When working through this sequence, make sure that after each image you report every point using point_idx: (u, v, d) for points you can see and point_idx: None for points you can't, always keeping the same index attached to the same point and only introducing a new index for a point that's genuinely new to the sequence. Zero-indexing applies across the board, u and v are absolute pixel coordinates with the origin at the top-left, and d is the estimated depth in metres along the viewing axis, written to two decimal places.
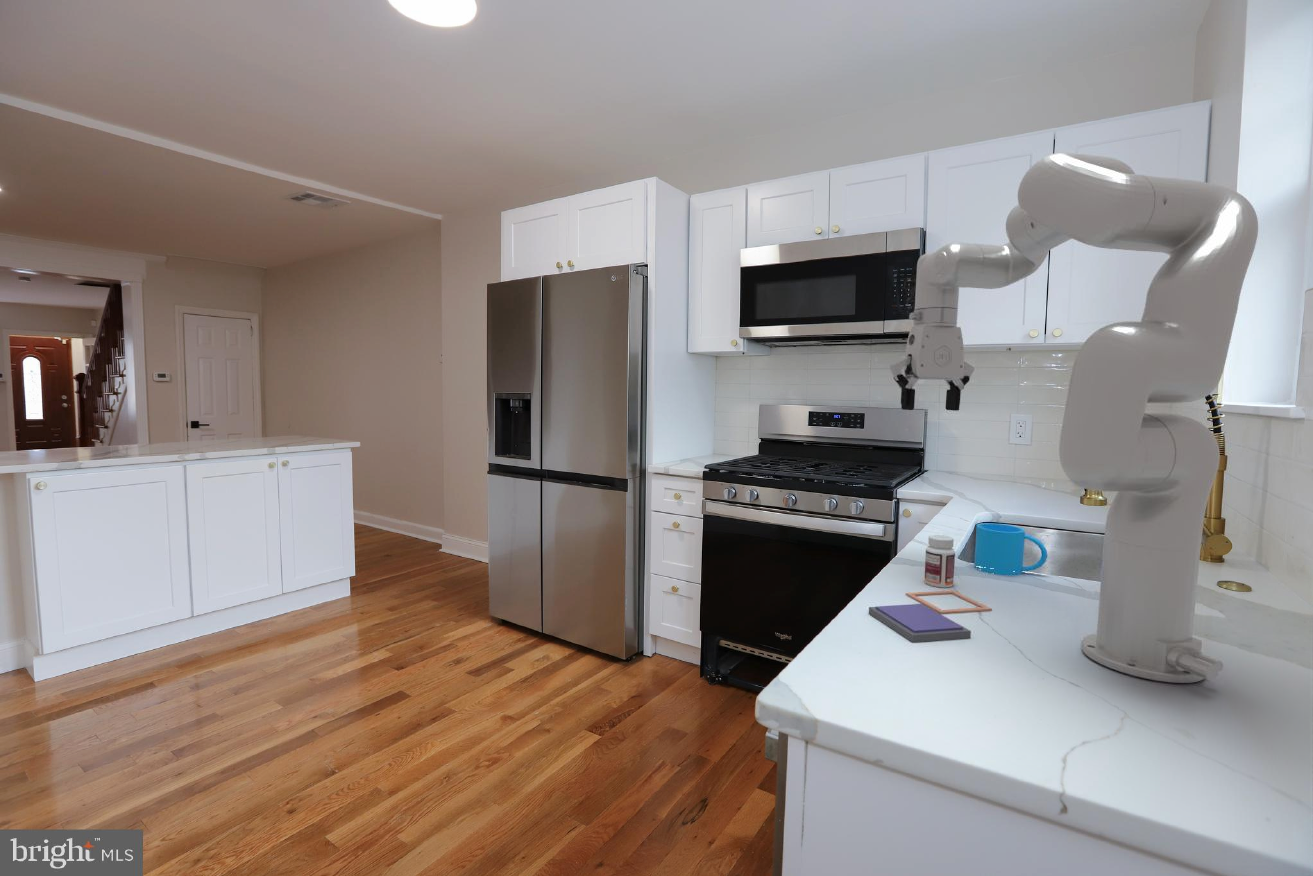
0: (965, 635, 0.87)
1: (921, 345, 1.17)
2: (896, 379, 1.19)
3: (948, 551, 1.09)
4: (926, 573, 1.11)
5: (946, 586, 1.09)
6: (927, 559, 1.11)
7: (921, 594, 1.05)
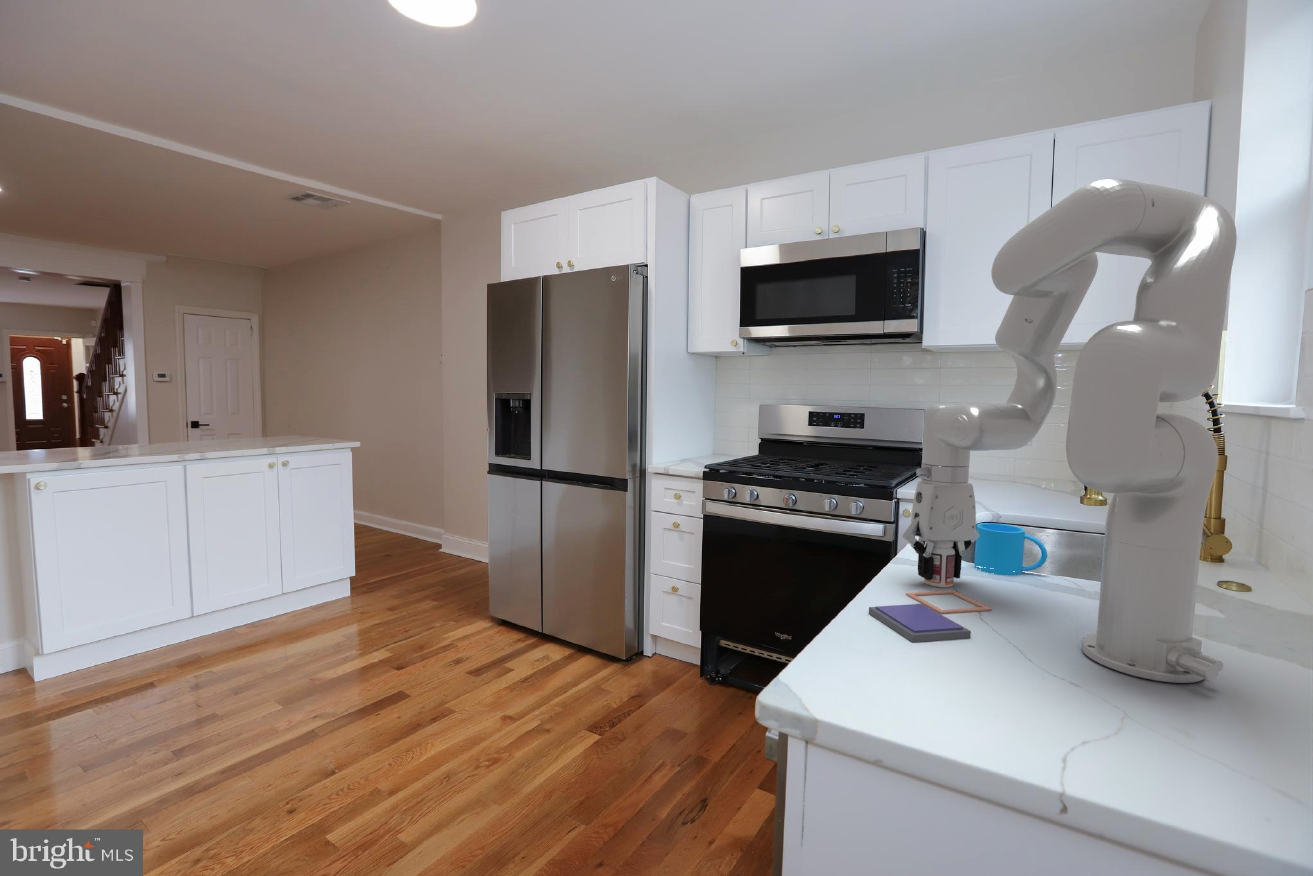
0: (965, 635, 0.87)
1: (930, 507, 1.07)
2: (913, 546, 1.10)
3: (948, 551, 1.09)
4: None
5: (946, 586, 1.09)
6: None
7: (921, 594, 1.05)
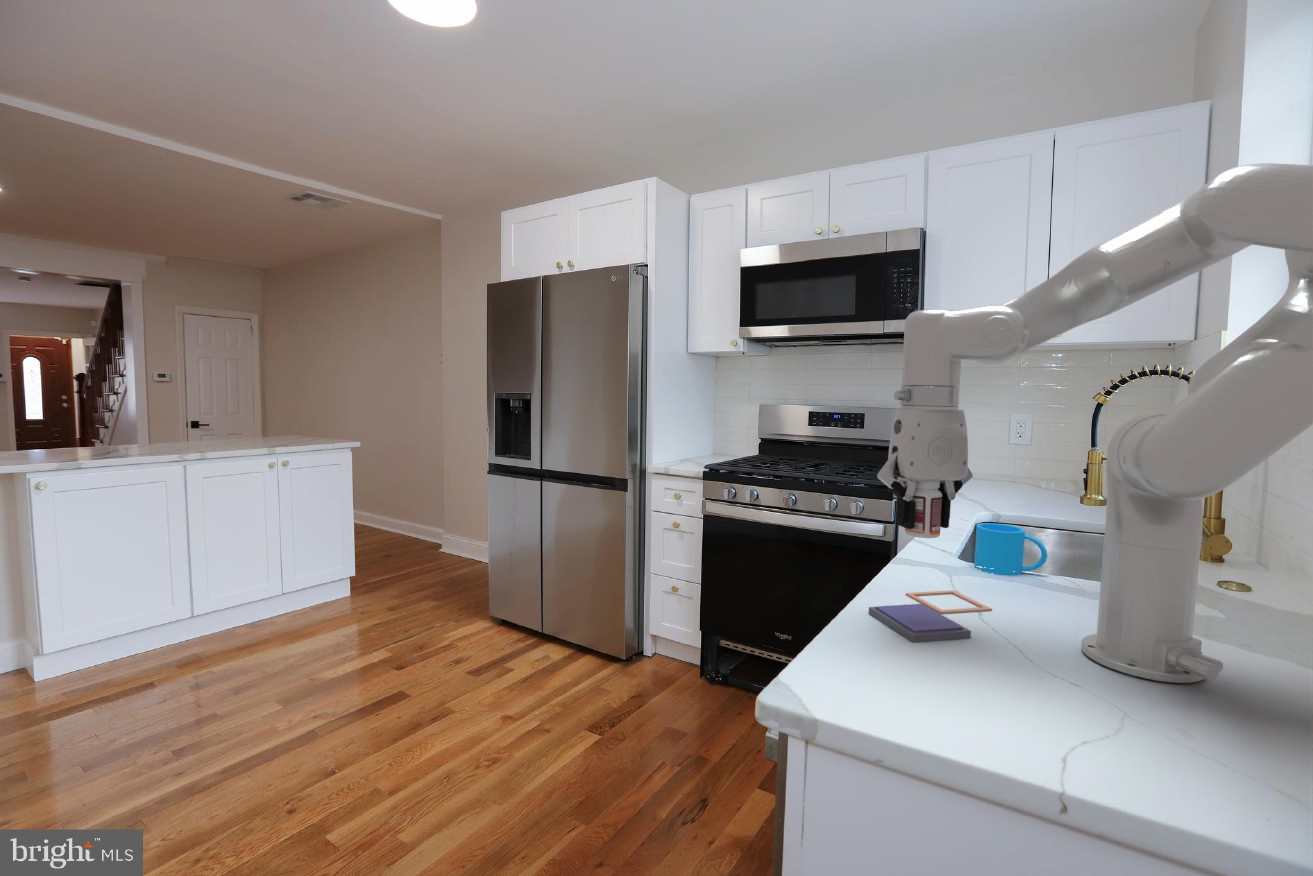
0: (965, 635, 0.87)
1: (911, 437, 0.86)
2: (890, 487, 0.89)
3: (933, 493, 0.88)
4: None
5: (931, 536, 0.88)
6: None
7: (921, 594, 1.05)
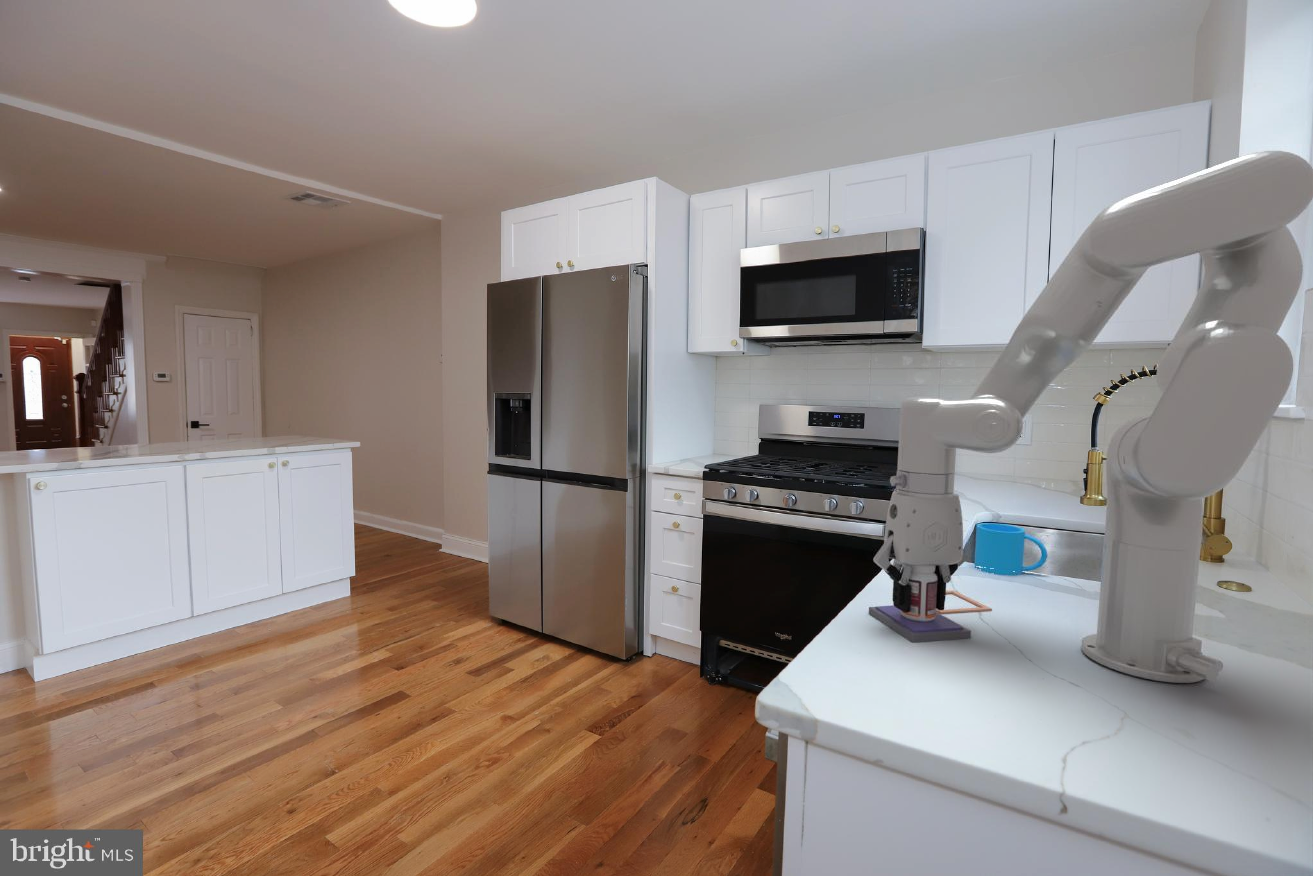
0: (965, 635, 0.87)
1: (906, 524, 0.87)
2: (886, 571, 0.90)
3: (928, 577, 0.89)
4: None
5: (926, 620, 0.89)
6: None
7: None
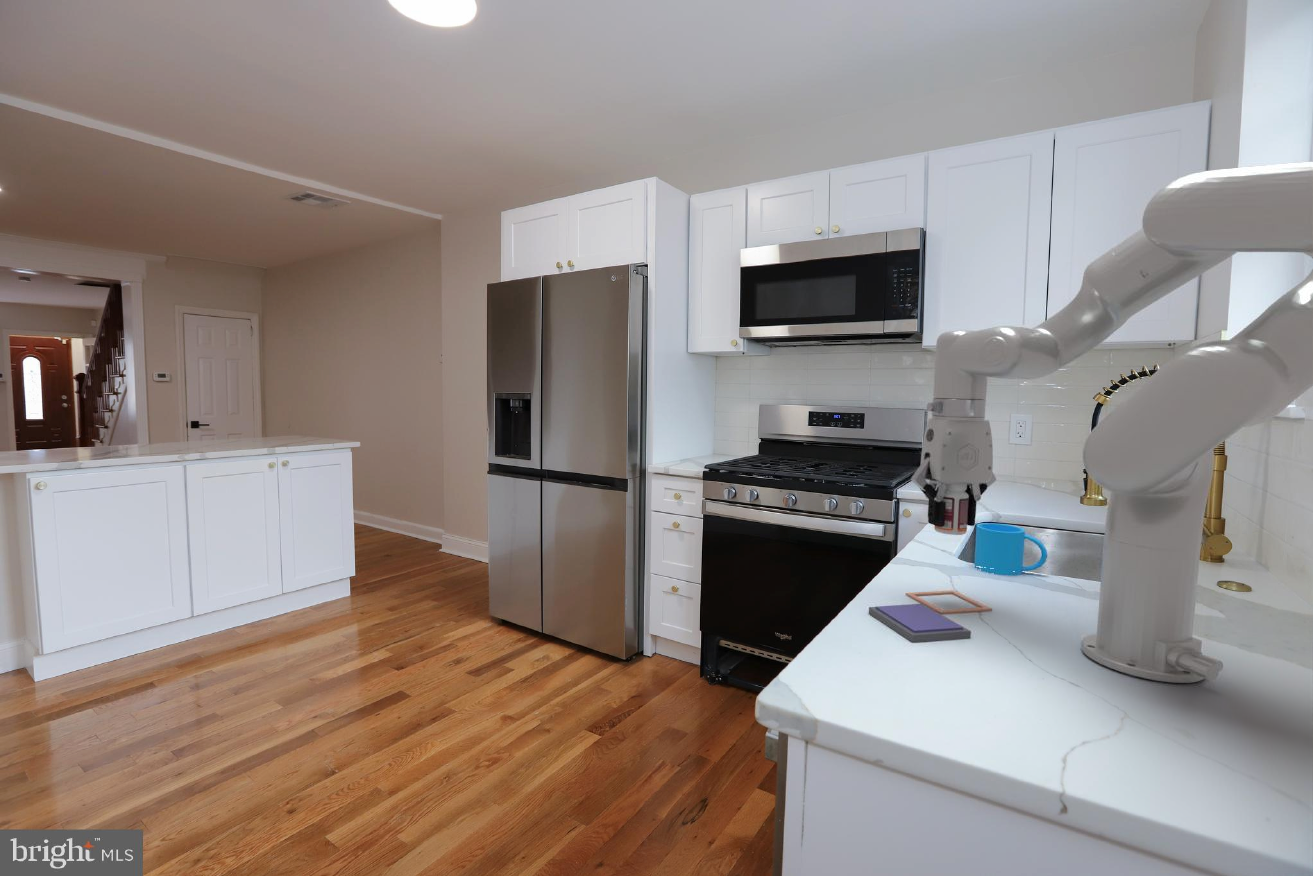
0: (965, 635, 0.87)
1: (942, 444, 0.96)
2: (923, 489, 0.99)
3: (961, 494, 0.98)
4: None
5: (959, 533, 0.99)
6: None
7: (921, 594, 1.05)
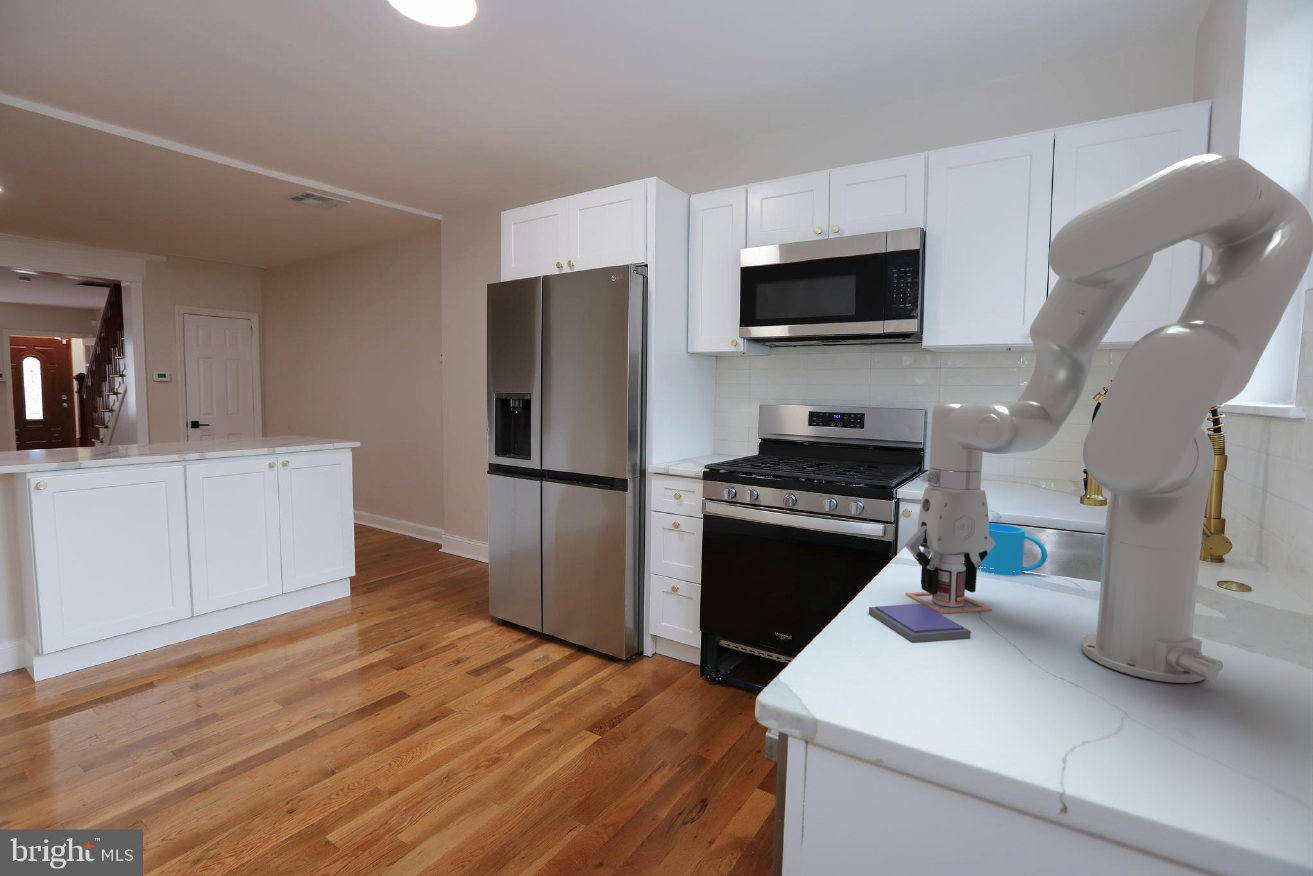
0: (965, 635, 0.87)
1: (938, 516, 0.97)
2: (915, 557, 1.00)
3: (958, 567, 0.99)
4: None
5: (956, 605, 0.99)
6: None
7: (921, 594, 1.05)
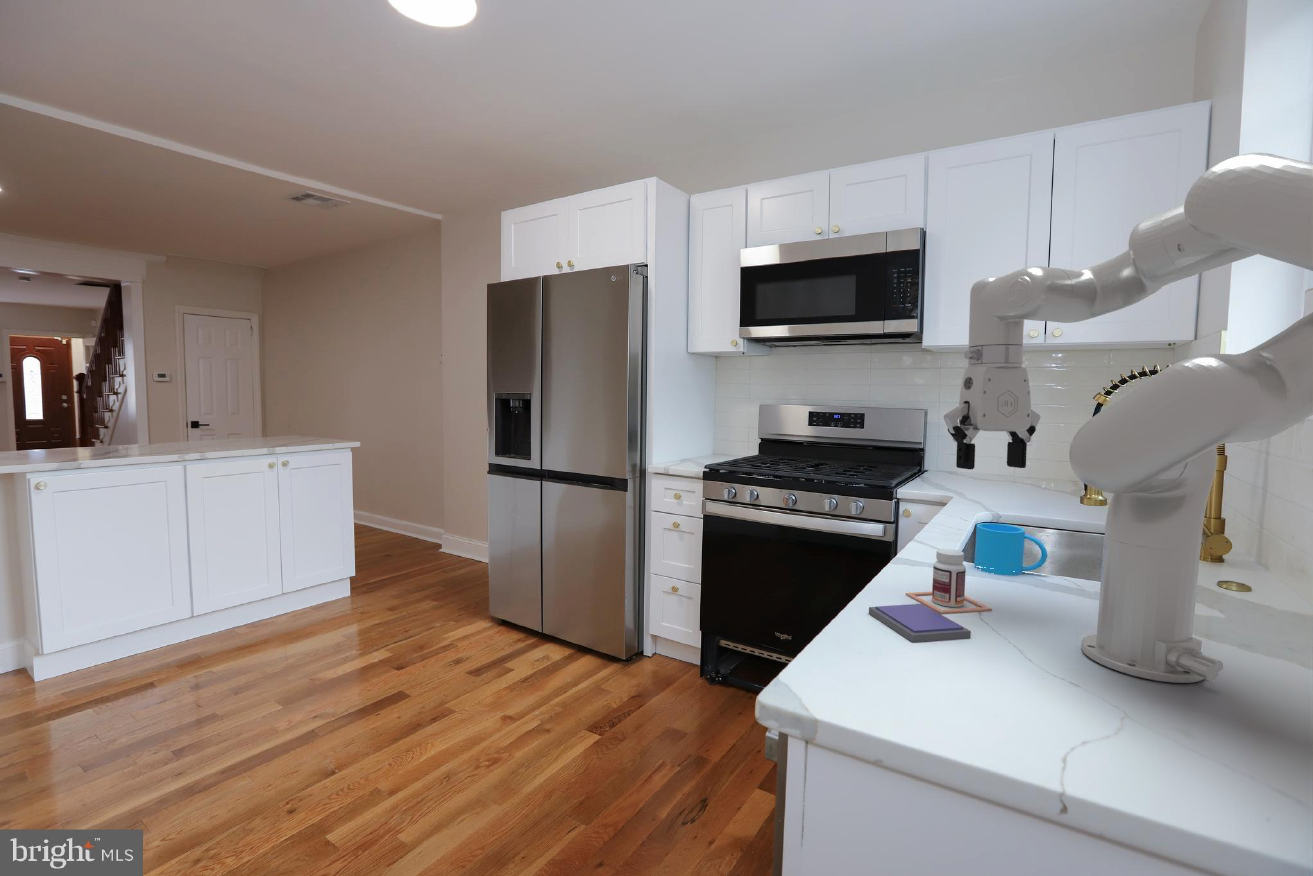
0: (965, 635, 0.87)
1: (982, 391, 0.95)
2: (951, 432, 0.97)
3: (958, 567, 0.99)
4: (934, 591, 1.01)
5: (956, 605, 0.99)
6: (935, 575, 1.01)
7: (921, 594, 1.05)
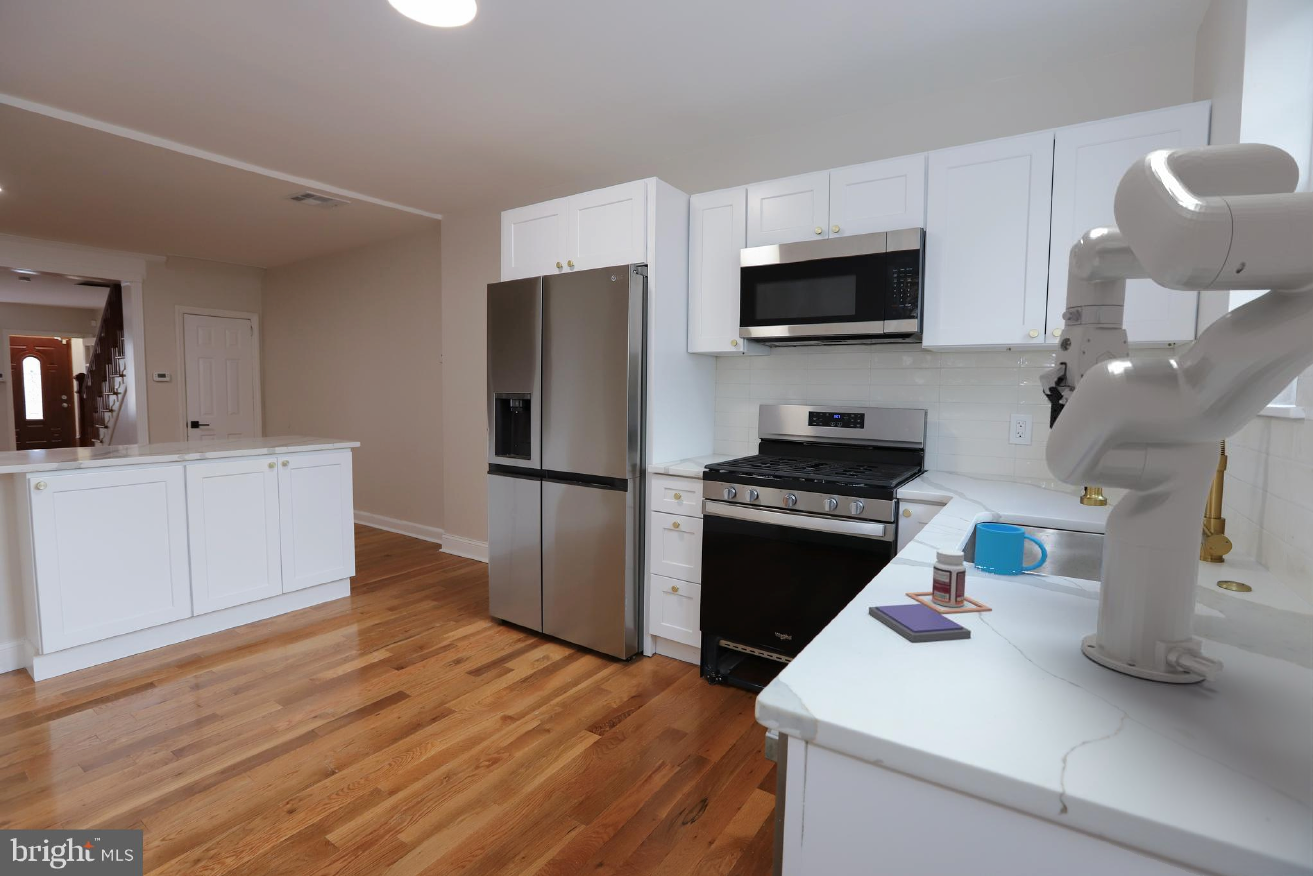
0: (965, 635, 0.87)
1: (1081, 351, 0.95)
2: (1047, 392, 0.98)
3: (958, 567, 0.99)
4: (934, 591, 1.01)
5: (956, 605, 0.99)
6: (935, 576, 1.01)
7: (921, 594, 1.05)
